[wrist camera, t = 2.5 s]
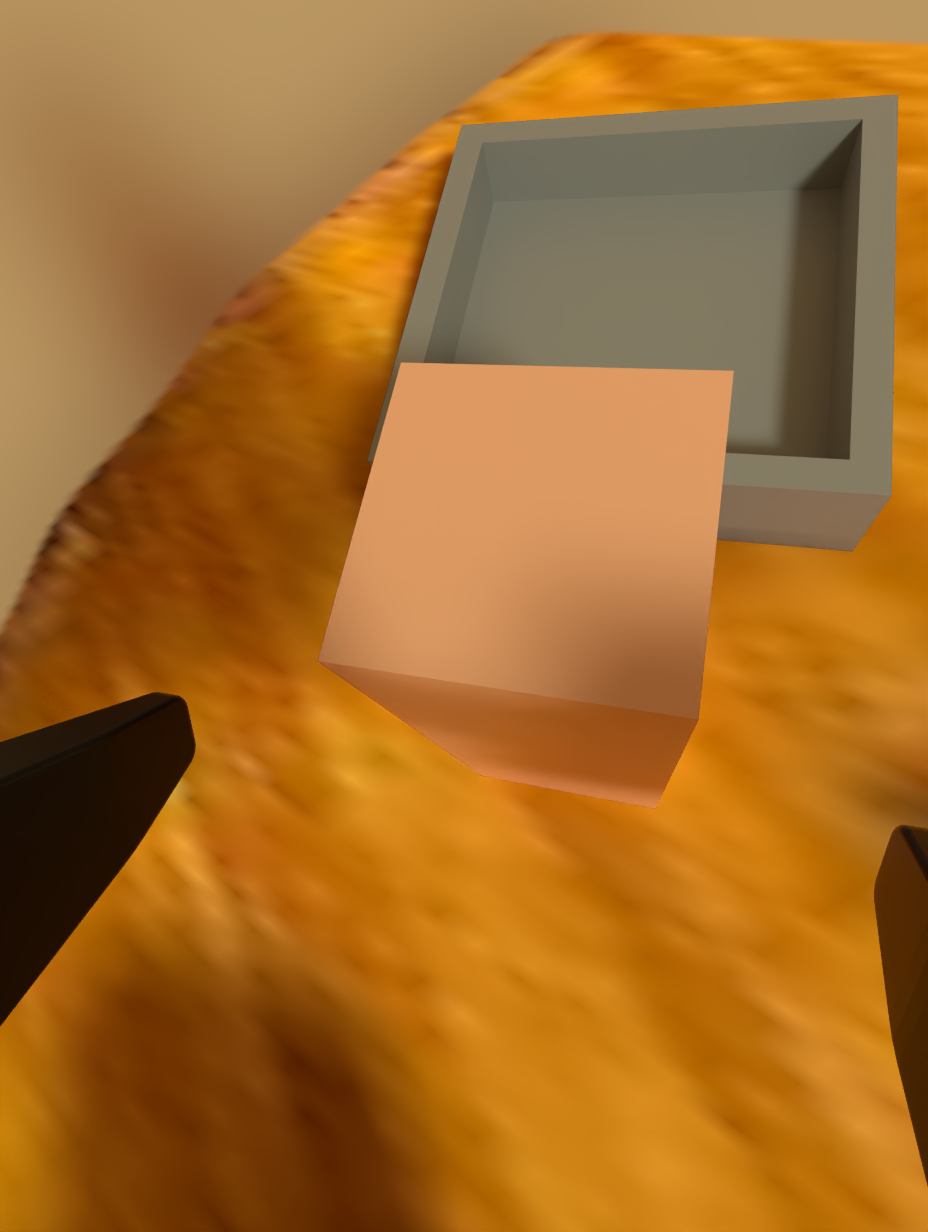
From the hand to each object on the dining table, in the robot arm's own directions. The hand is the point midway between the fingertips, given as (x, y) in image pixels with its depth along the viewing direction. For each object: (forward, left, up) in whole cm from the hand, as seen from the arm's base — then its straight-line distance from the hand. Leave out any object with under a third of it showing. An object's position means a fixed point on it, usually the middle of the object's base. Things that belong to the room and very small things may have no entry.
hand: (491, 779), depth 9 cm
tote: (+11, +11, -10) cm, 18 cm away
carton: (+2, +2, -10) cm, 11 cm away
